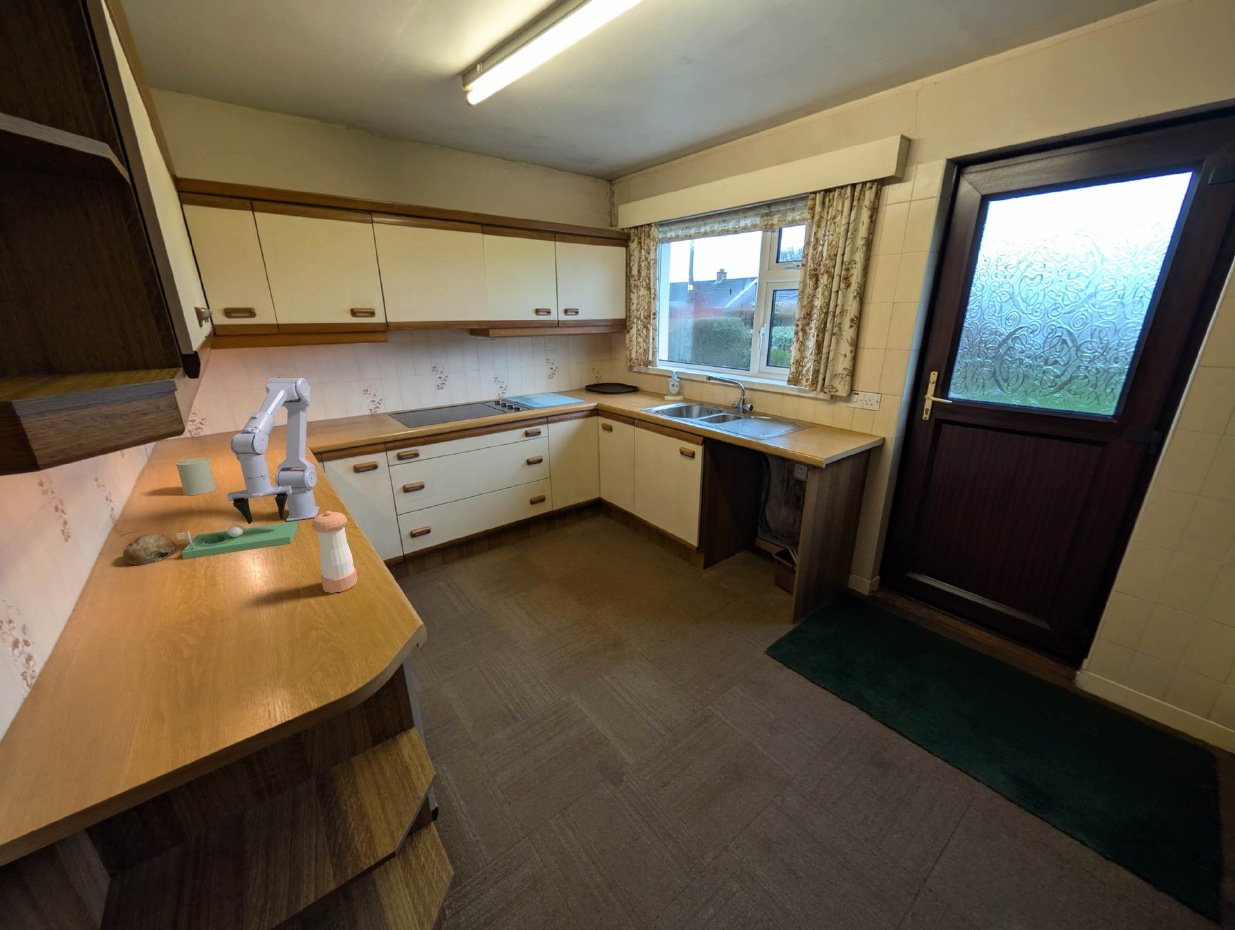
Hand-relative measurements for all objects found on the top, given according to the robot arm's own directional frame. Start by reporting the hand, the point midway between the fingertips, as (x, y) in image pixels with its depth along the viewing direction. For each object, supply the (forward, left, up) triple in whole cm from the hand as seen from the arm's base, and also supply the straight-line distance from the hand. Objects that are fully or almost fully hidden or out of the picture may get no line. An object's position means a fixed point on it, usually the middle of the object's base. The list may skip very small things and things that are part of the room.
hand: (266, 520), depth 137 cm
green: (0, -6, -6) cm, 8 cm away
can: (-57, -32, -6) cm, 66 cm away
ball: (0, -9, -1) cm, 9 cm away
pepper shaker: (+37, +21, -6) cm, 43 cm away
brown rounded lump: (+1, -27, -6) cm, 27 cm away
